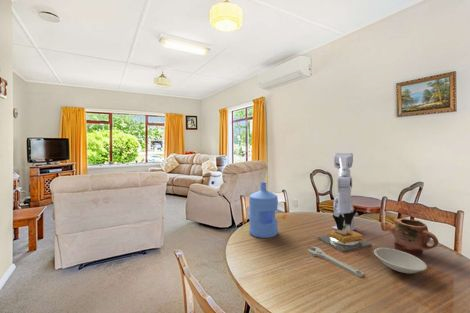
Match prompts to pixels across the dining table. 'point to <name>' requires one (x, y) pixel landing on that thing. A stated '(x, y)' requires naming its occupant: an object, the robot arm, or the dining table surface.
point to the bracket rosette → (345, 241)
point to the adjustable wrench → (334, 261)
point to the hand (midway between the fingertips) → (343, 228)
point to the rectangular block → (345, 230)
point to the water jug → (263, 213)
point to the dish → (400, 260)
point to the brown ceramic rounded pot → (412, 236)
